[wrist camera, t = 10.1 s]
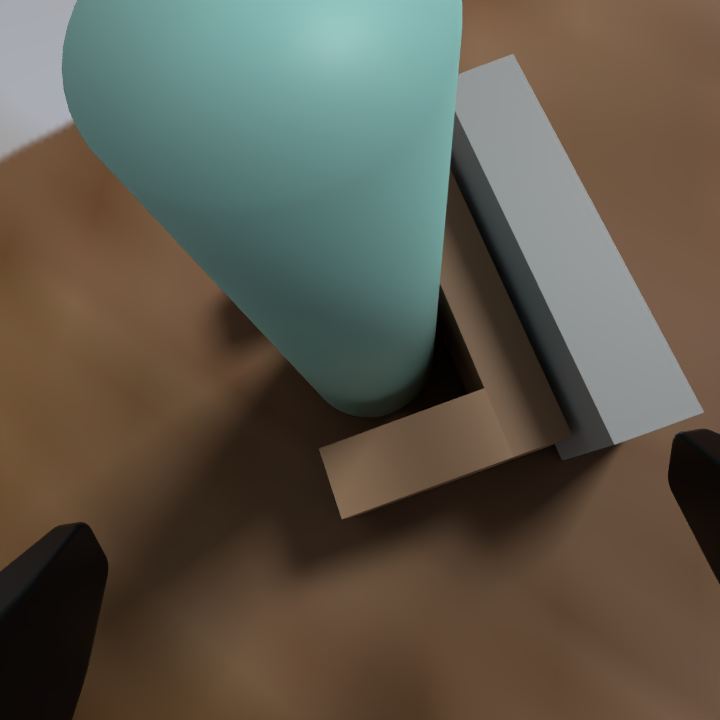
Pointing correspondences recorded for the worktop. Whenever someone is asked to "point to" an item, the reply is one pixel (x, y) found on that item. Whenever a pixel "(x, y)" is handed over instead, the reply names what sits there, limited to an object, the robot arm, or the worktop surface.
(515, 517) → the worktop surface
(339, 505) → the block
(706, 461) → the robot arm
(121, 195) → the worktop surface
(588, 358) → the backstop
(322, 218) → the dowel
